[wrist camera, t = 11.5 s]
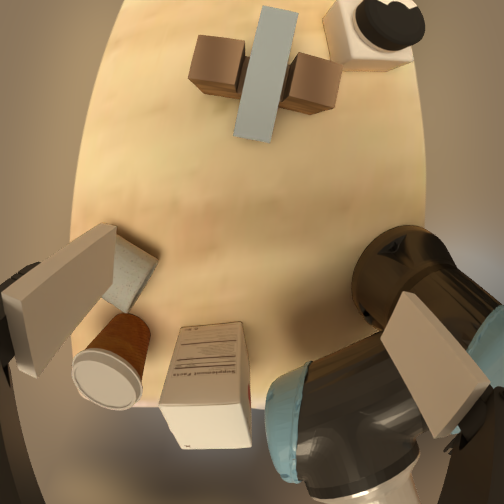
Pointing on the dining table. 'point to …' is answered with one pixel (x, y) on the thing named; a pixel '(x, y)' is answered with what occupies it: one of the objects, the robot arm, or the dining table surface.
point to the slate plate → (265, 74)
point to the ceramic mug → (129, 274)
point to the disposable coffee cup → (114, 363)
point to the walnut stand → (235, 68)
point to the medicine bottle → (373, 33)
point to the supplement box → (209, 388)
